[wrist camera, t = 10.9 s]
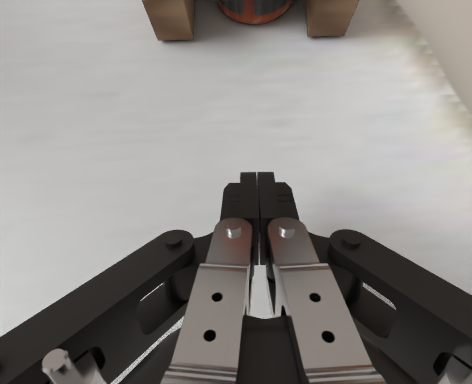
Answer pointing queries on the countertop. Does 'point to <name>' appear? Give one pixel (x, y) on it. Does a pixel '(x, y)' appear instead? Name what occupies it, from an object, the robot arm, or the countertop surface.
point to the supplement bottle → (254, 9)
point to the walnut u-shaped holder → (183, 3)
